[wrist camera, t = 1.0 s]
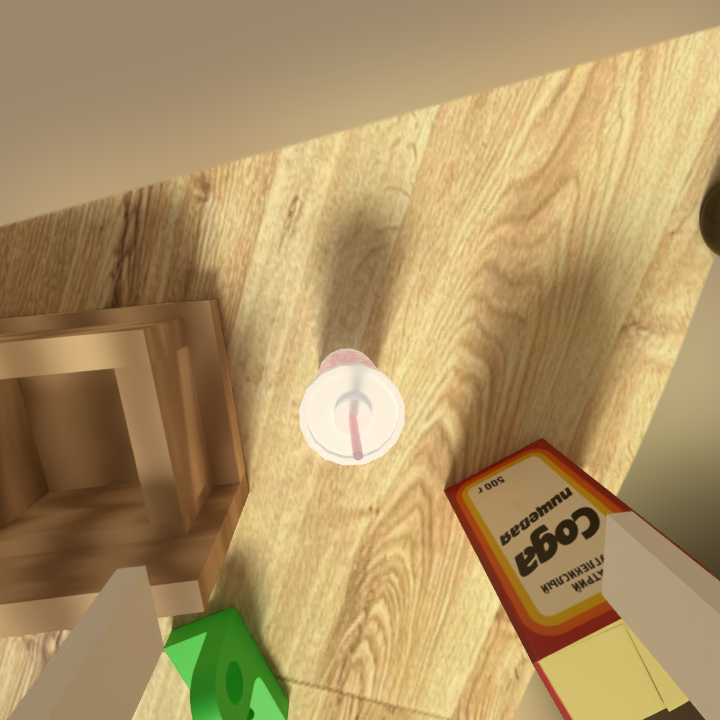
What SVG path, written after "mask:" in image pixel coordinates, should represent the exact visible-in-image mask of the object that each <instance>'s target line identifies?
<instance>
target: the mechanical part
mask: <svg viewBox="0 0 720 720" xmlns="http://www.w3.org/2000/svg"><path fill="white" fill-rule="evenodd" d="M164 650H165V652H166V653H167V655H168V656H169V658H170V659H171V661H172V663H173V664H174V666H175V667H176V669H177V670H178V672H179V673H180V675H181V677H182V678H183V680H184V681H185V683H186V684H187V686H188V687H189V689H190V704H191V712H192V717H193V720H287V718H288V708H289V701H288V699H287V698H286V696H285V694H284V692H283V691H282V689H281V687H280V685H279V684H278V682H277V680H276V678H275V677H274V675H273V673H272V671H271V670H270V668H269V666H268V665H267V663H266V661H265V659H264V658H263V656H262V654H261V652H260V651H259V649H258V647H257V645H256V644H255V642H254V640H253V638H252V637H251V635H250V633H249V631H248V630H247V628H246V626H245V624H244V623H243V621H242V619H241V617H240V616H239V614H238V612H237V610H236V609H235V607H234V606H233V607H230V608H228V609H225V610H223V611H220V612H218V613H215V614H212V615H210V616H207V617H205V618H202V619H200V620H197V621H195V622H192V623H190V624H187V625H185V626H182V627H180V628H177V629H174V630H172V631H171V633H170V636H169V638H168V640H167V642H166V645H165V647H164Z"/></svg>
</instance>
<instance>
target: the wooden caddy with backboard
mask: <svg viewBox="0 0 720 720" xmlns="http://www.w3.org/2000/svg"><path fill="white" fill-rule="evenodd" d="M248 494H249V488H248V482H247V476H246V470H245V464H244V458H243V452H242V446H241V440H240V434H239V427H238V421H237V415H236V409H235V403H234V397H233V391H232V385H231V379H230V373H229V367H228V361H227V355H226V349H225V342H224V336H223V330H222V324H221V318H220V312H219V306H218V300H217V299H206V300H195V301H185V302H174V303H163V304H152V305H141V306H130V307H119V308H108V309H97V310H87V311H76V312H65V313H54V314H43V315H32V316H21V317H10V318H0V638H4V637H12V636H20V635H28V634H35V633H43V632H51V631H59V630H66V629H74V627H75V626H76V624H77V623H78V622H79V620H80V619H81V618H82V616H83V615H84V613H85V612H86V611H87V609H88V608H89V607H90V605H91V604H92V602H93V601H94V600H95V598H96V597H97V596H98V594H99V593H100V592H101V590H102V589H103V587H104V586H105V585H106V583H107V582H108V581H109V579H110V578H111V576H112V575H113V574H114V572H115V571H116V570H117V569H121V568H130V567H139V566H146V570H147V575H148V579H149V584H150V588H151V592H152V597H153V601H154V605H155V610H156V614H157V618H160V617H168V616H175V615H183V614H191V613H199V612H204V611H205V608H206V606H207V603H208V601H209V598H210V595H211V593H212V590H213V587H214V585H215V582H216V579H217V577H218V574H219V571H220V569H221V566H222V563H223V561H224V558H225V555H226V553H227V550H228V547H229V545H230V542H231V539H232V537H233V534H234V531H235V529H236V526H237V523H238V521H239V518H240V515H241V513H242V510H243V507H244V505H245V502H246V499H247V497H248Z"/></svg>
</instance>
